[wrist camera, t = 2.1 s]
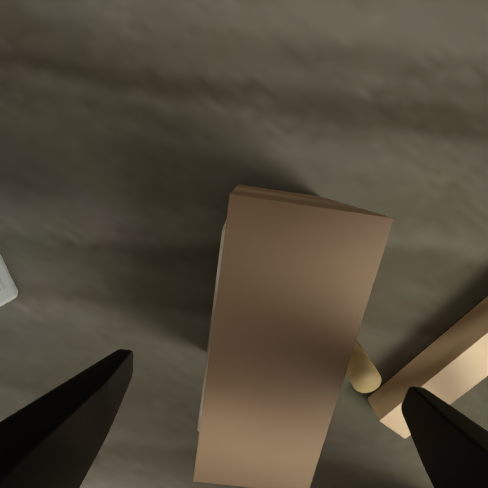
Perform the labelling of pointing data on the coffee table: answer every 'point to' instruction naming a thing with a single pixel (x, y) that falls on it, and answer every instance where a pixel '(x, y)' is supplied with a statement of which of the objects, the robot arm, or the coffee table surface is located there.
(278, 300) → the thick tan wooden block
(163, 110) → the coffee table surface
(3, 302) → the tea box
